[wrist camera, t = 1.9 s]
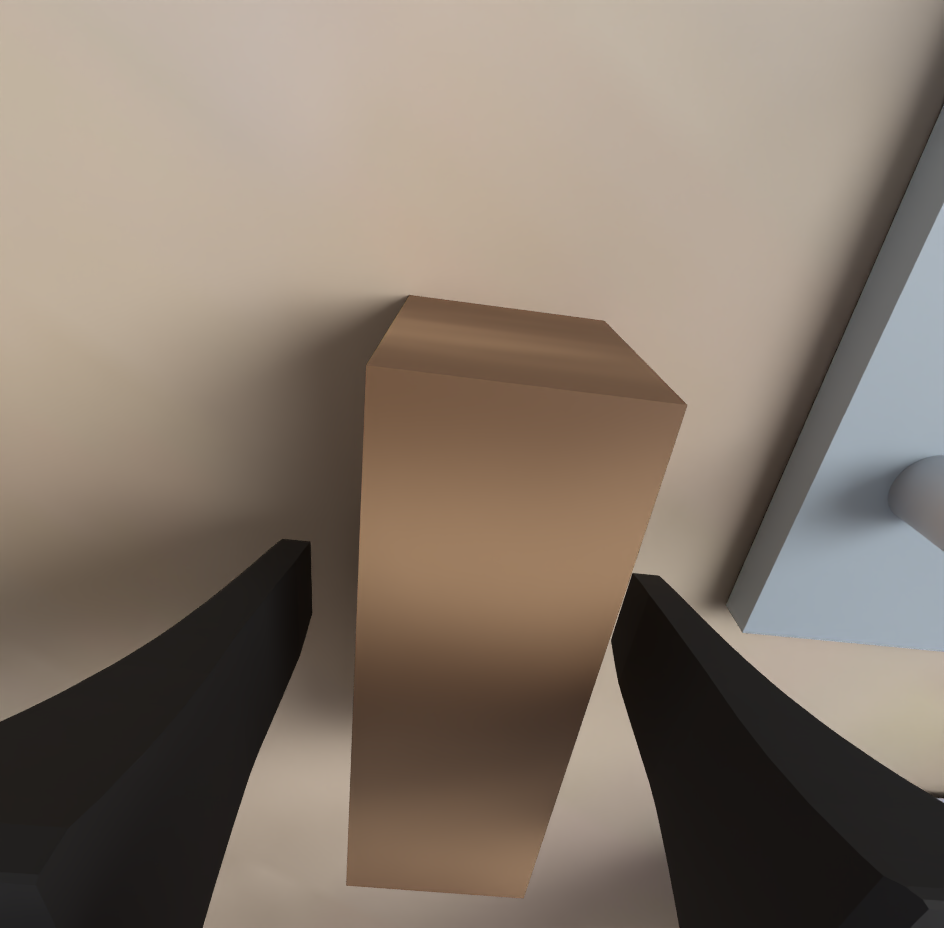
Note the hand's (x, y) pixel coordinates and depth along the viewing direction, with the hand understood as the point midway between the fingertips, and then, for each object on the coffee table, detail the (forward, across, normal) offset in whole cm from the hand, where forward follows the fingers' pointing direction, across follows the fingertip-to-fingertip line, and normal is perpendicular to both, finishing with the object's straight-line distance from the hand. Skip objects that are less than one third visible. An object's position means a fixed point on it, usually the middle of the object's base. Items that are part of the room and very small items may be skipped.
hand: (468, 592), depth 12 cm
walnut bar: (+2, 0, 0) cm, 2 cm away
